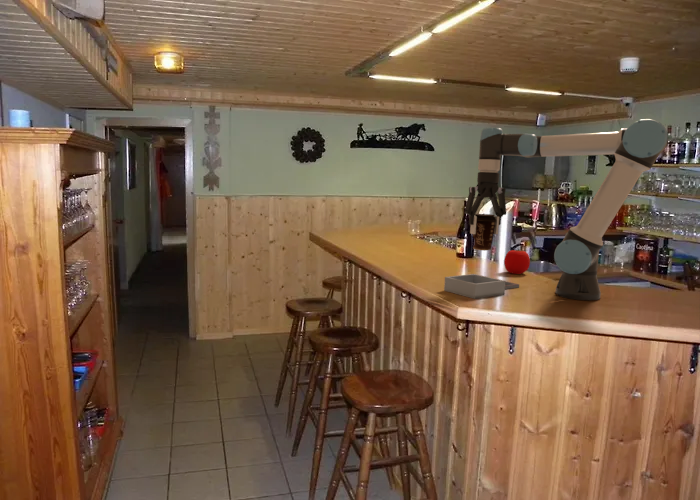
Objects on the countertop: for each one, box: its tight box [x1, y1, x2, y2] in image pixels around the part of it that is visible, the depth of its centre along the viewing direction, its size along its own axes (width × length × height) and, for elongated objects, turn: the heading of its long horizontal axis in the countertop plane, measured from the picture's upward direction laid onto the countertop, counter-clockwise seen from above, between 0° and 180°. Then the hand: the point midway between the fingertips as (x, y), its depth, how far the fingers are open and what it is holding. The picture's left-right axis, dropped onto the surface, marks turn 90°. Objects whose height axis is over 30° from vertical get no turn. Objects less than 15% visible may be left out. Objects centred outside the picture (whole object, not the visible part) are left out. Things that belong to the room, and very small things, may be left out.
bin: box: [443, 273, 506, 300], centre depth 196 cm, size 15×15×5 cm
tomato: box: [503, 248, 531, 275], centre depth 238 cm, size 10×11×11 cm
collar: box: [504, 280, 520, 290], centre depth 210 cm, size 15×15×1 cm
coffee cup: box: [472, 213, 496, 251], centre depth 201 cm, size 9×8×13 cm
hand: (484, 233), depth 200 cm, fingers closed on coffee cup, 8 cm apart
